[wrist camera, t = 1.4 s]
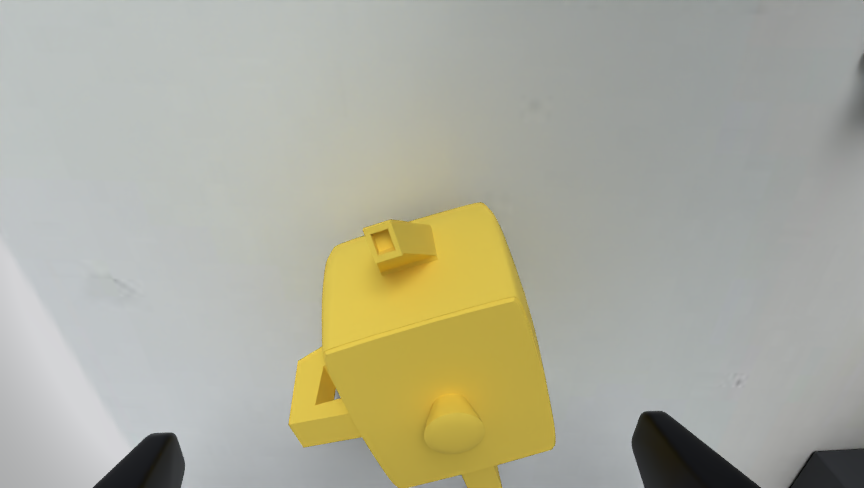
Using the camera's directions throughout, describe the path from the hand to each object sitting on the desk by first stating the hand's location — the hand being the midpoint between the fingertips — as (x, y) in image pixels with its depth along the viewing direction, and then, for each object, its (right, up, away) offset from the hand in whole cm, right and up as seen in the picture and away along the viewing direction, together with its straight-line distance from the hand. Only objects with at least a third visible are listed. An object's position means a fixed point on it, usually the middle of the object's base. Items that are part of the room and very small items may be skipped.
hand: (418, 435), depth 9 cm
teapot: (0, +3, +4) cm, 5 cm away
